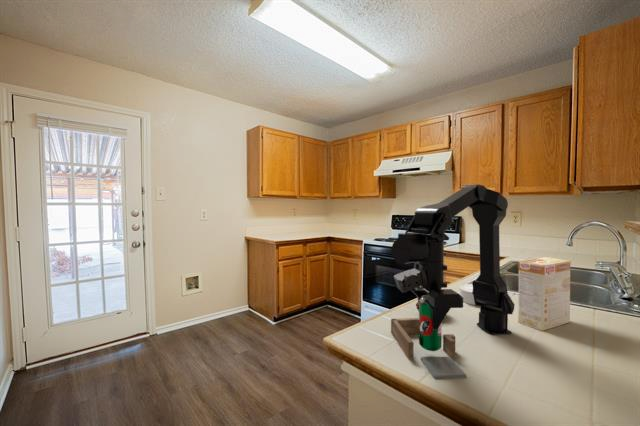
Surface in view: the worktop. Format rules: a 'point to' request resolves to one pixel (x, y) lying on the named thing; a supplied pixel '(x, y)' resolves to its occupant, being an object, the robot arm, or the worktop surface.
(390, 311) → the worktop surface
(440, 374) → the slate coaster
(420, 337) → the soda can
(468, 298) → the ramekin
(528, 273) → the coffeecake box
